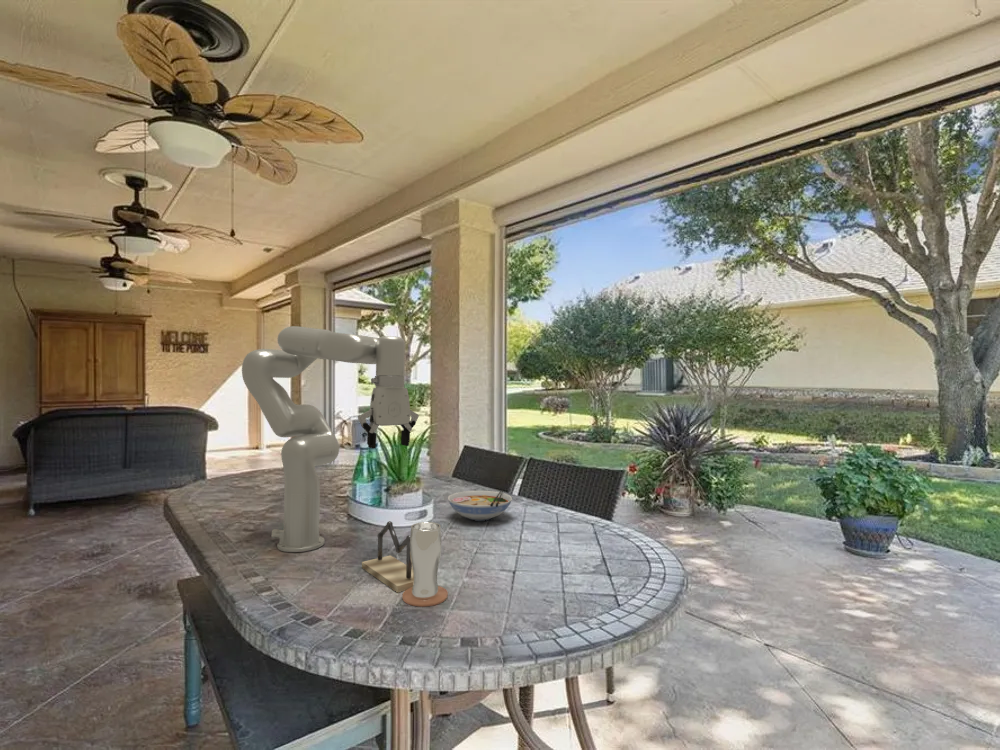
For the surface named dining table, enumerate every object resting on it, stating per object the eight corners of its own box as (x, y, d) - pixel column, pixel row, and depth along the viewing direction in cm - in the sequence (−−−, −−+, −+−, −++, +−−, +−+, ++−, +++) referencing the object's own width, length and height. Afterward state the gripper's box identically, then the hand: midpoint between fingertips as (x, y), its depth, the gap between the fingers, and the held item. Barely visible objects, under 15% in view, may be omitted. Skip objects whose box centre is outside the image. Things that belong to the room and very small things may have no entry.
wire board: (361, 567, 127) (361, 561, 127) (390, 561, 132) (390, 555, 132) (397, 592, 113) (397, 586, 113) (427, 584, 118) (427, 577, 118)
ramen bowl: (455, 508, 189) (456, 486, 189) (515, 511, 186) (516, 489, 186) (438, 526, 164) (439, 501, 164) (507, 530, 161) (508, 505, 161)
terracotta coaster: (396, 605, 107) (396, 602, 107) (409, 586, 116) (409, 583, 116) (442, 607, 106) (442, 605, 106) (451, 588, 116) (451, 585, 116)
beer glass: (434, 601, 107) (435, 531, 107) (404, 598, 108) (405, 529, 109) (444, 588, 114) (445, 522, 114) (416, 585, 115) (417, 520, 115)
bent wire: (375, 559, 128) (376, 516, 129) (381, 557, 129) (382, 515, 130) (407, 579, 116) (408, 532, 116) (413, 577, 117) (413, 531, 117)
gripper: (365, 382, 125) (364, 450, 125) (425, 383, 136) (424, 445, 136) (353, 382, 131) (352, 447, 131) (411, 382, 142) (410, 443, 142)
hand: (388, 446), depth 133 cm, fingers open, 9 cm apart
